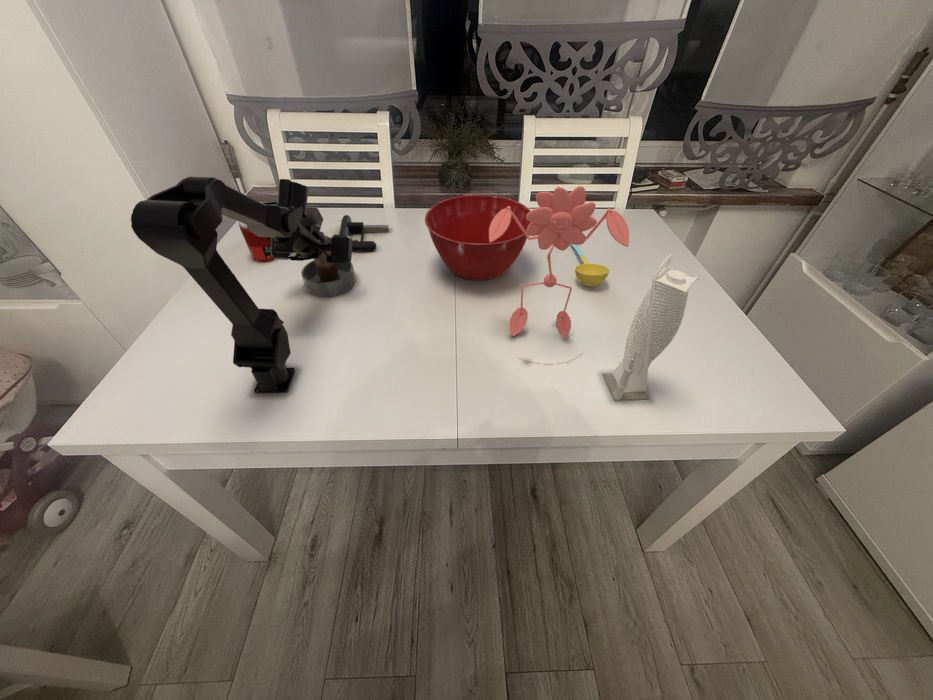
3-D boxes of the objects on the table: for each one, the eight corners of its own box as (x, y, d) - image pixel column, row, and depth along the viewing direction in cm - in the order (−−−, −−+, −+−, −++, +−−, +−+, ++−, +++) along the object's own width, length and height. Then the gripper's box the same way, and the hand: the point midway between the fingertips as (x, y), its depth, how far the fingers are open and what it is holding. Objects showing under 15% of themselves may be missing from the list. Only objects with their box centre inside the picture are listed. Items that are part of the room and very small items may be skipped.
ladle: (577, 291, 102) (580, 270, 99) (556, 259, 124) (557, 241, 121) (611, 290, 102) (615, 269, 99) (584, 258, 124) (586, 240, 121)
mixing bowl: (414, 288, 104) (409, 234, 93) (444, 237, 124) (442, 188, 113) (519, 304, 99) (526, 250, 88) (532, 249, 119) (539, 199, 108)
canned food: (272, 263, 112) (258, 227, 104) (246, 260, 113) (231, 224, 105) (286, 250, 117) (273, 215, 110) (262, 247, 118) (248, 212, 111)
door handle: (388, 214, 130) (338, 214, 127) (387, 244, 116) (331, 244, 113) (388, 223, 132) (339, 223, 130) (388, 254, 118) (333, 254, 115)
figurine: (485, 316, 95) (493, 167, 71) (592, 325, 93) (638, 175, 69) (479, 361, 84) (486, 203, 60) (600, 372, 82) (658, 213, 58)
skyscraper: (600, 370, 83) (643, 252, 63) (637, 368, 83) (691, 251, 64) (614, 401, 77) (666, 282, 57) (653, 399, 77) (718, 280, 58)
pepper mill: (342, 276, 106) (331, 230, 97) (336, 286, 102) (324, 239, 93) (324, 275, 106) (311, 229, 97) (318, 285, 103) (303, 238, 93)
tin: (351, 297, 101) (348, 282, 97) (300, 298, 100) (295, 283, 97) (359, 269, 110) (356, 255, 107) (312, 270, 109) (308, 256, 106)
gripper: (341, 203, 85) (363, 227, 100) (258, 199, 86) (293, 224, 101) (337, 253, 85) (360, 270, 100) (254, 249, 86) (290, 266, 101)
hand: (326, 256), depth 101 cm, fingers closed on pepper mill, 5 cm apart
